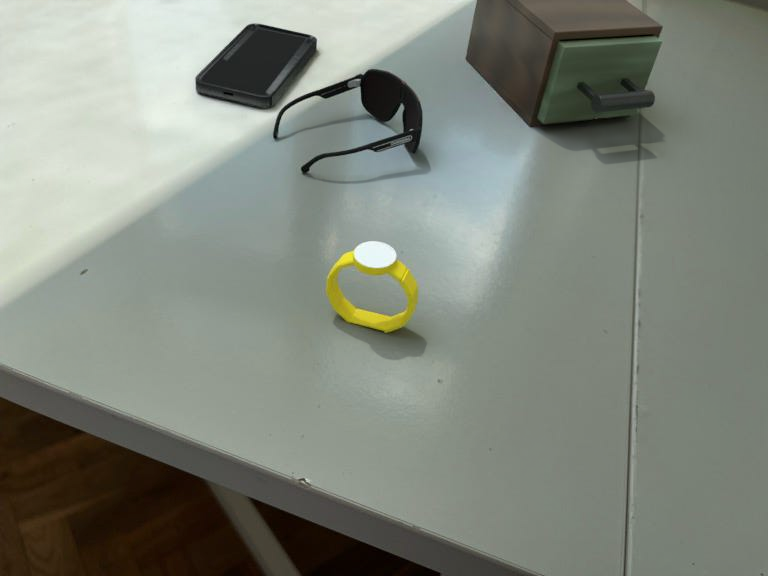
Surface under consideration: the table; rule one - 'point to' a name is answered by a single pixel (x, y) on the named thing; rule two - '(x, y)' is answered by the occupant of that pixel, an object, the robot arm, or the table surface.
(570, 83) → the drawer
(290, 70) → the phone
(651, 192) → the table surface
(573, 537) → the table surface
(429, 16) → the table surface
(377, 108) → the sunglasses
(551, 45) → the cabinet
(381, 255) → the watch
